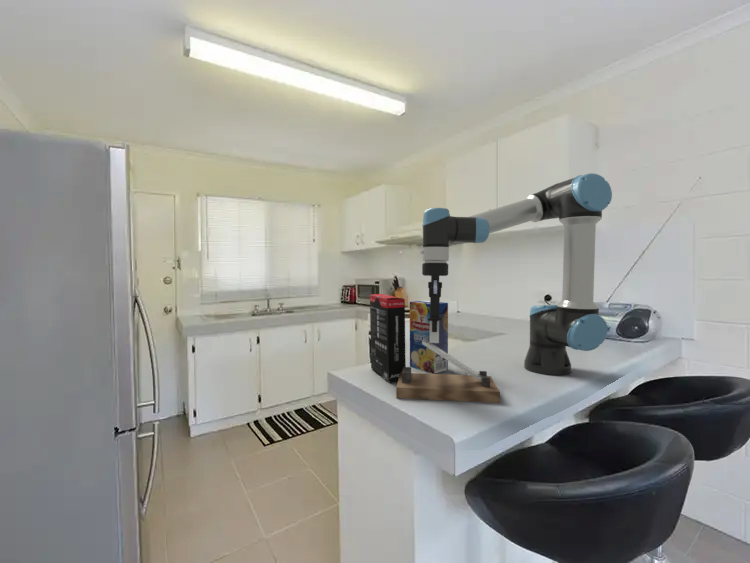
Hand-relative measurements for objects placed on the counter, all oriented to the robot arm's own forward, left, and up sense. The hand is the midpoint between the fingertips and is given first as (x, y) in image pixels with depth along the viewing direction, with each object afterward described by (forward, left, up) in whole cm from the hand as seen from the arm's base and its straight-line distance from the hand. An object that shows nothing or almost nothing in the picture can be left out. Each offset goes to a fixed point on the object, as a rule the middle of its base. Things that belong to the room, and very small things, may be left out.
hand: (434, 342), depth 104 cm
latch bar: (-5, 0, -6) cm, 8 cm away
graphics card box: (+16, -14, -15) cm, 26 cm away
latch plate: (-3, 0, -15) cm, 15 cm away
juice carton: (+2, -24, -15) cm, 28 cm away
